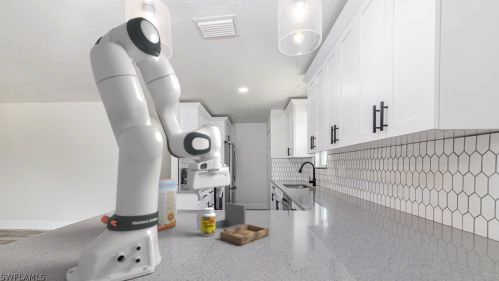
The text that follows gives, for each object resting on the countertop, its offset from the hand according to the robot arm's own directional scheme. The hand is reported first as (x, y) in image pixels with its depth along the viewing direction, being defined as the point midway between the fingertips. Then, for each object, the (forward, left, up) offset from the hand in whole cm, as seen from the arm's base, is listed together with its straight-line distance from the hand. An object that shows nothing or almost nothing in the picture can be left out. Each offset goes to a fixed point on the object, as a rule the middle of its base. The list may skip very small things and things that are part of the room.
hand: (210, 199), depth 97 cm
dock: (+9, 0, -14) cm, 17 cm away
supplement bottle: (-1, 0, -14) cm, 14 cm away
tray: (+7, -13, -14) cm, 20 cm away
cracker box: (-10, +22, -14) cm, 28 cm away
